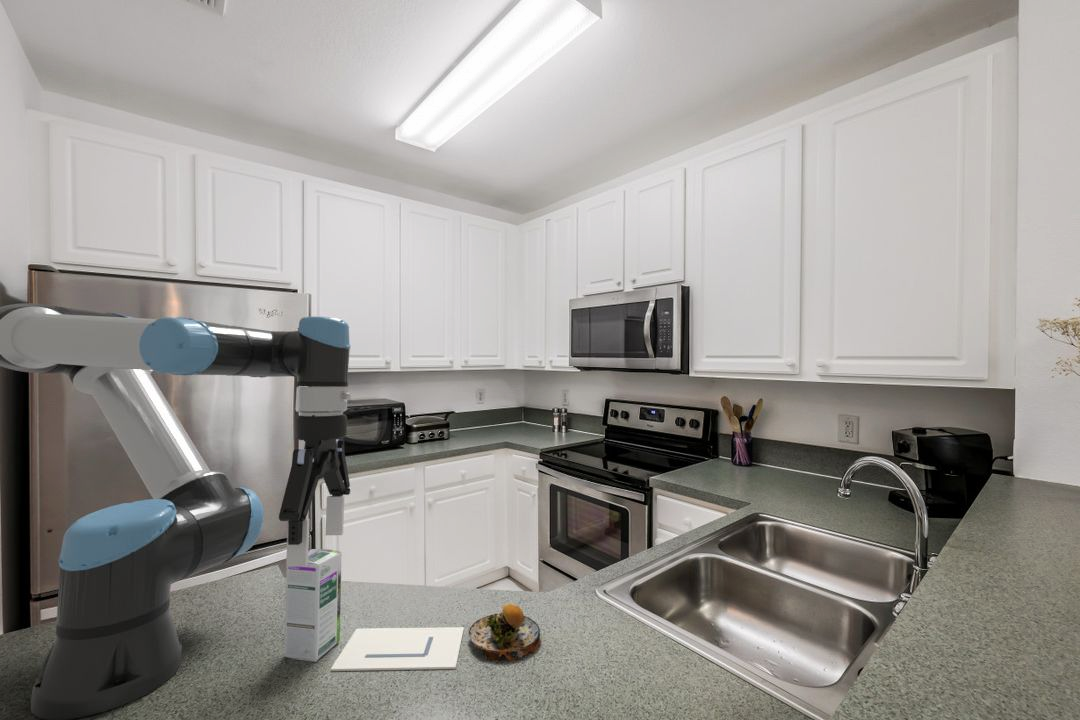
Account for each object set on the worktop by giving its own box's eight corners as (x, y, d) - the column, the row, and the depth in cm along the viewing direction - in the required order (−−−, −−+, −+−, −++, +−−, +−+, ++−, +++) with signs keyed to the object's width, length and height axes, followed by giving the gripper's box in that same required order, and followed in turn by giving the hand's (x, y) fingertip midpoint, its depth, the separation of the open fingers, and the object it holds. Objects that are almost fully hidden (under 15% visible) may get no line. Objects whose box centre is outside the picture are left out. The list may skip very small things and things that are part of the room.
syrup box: (316, 663, 68) (320, 563, 69) (281, 657, 70) (286, 560, 70) (340, 642, 74) (343, 550, 75) (308, 637, 75) (311, 547, 76)
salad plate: (494, 616, 83) (495, 574, 84) (552, 633, 78) (553, 588, 78) (452, 650, 73) (453, 601, 73) (517, 672, 67) (518, 620, 68)
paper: (330, 671, 66) (330, 668, 66) (356, 630, 77) (356, 628, 77) (455, 668, 67) (455, 666, 67) (463, 629, 78) (464, 626, 78)
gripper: (311, 419, 61) (305, 582, 60) (370, 409, 86) (367, 524, 85) (253, 419, 61) (247, 583, 60) (329, 409, 86) (325, 524, 85)
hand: (317, 548), depth 72 cm, fingers open, 13 cm apart
